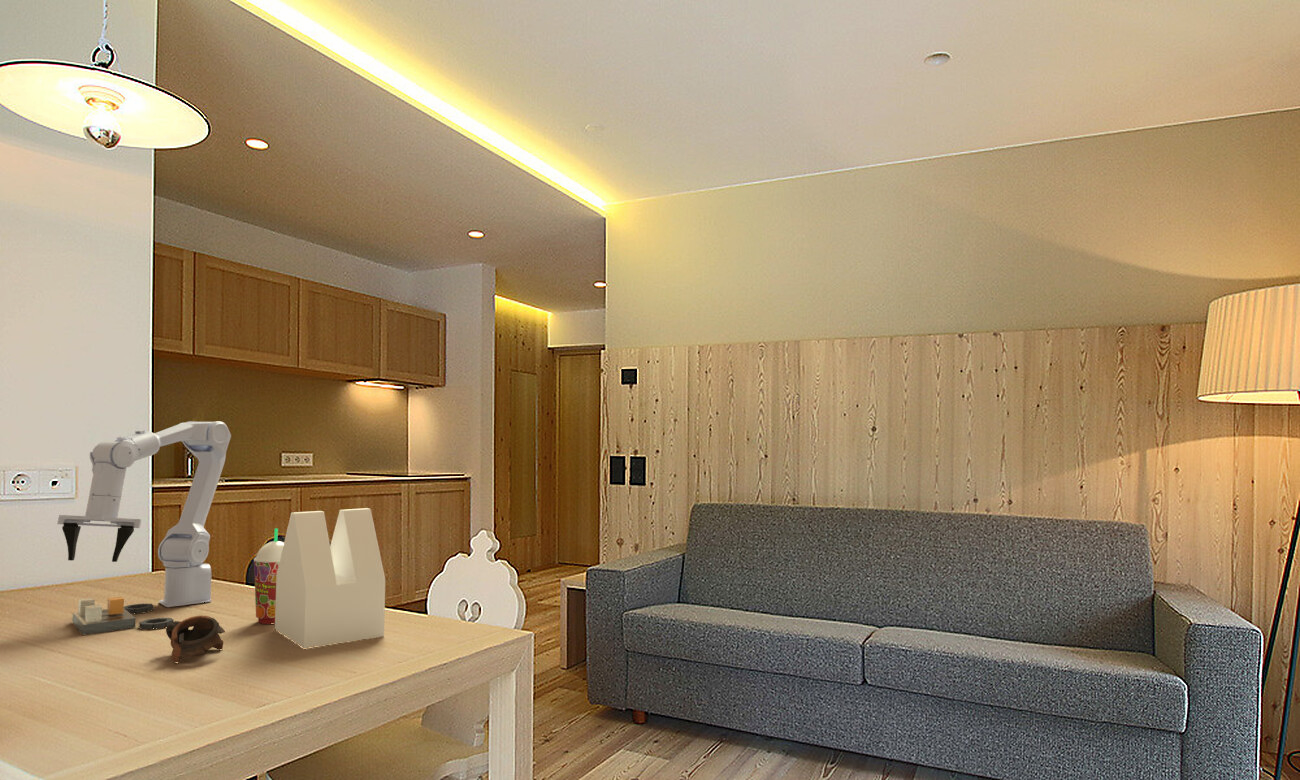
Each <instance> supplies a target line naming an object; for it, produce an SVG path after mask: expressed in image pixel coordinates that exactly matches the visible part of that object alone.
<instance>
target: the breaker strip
mask: <svg viewBox="0 0 1300 780" xmlns="http://www.w3.org/2000/svg"><path fill="white" fill-rule="evenodd" d="M77 605H78V609H77V612H73V613H72V622H73V623H72V625H74V627H75V626H76V627H77V628H78V629H77V628H76V629H77V630H78V632H81V633H82V634H81V633H80V634H81V635H82V636H85V635H84V634H87V635H92V634H91V633H94V634H100V633H99V632H101V633H106V631H108V632H113V631H112V630H115V631H121V630H120V629H123V630H127V628H130V629H135V628H136V622H137V620H136V619H137V617H135V616H134V614H130V613H129V612H128V611H127V610H126V609H123V613H120V614H112V615H109V614H108V613H107V608H104V609H103V606H102V605H101V604H100V603H99V604H95V599H94V598H93V597H88V598H86V597H85V598H79V599H78V604H77ZM134 627H135V628H134Z"/></svg>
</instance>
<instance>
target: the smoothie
mask: <svg viewBox="0 0 1300 780" xmlns="http://www.w3.org/2000/svg"><path fill="white" fill-rule="evenodd" d="M278 532H279V528H274V532H273V533H274V535H273V541H269V542H268V543H267V542H266V544H264V545H263V546H261V548H259V549H258V551H257V553H256V556H255V557H254V558H253V561H254V562H253V566H254V568H253V569H254V570H253V571H254V600H255V618H256V619H257V620H258V623H259V624H261V623H263V624H262V625H272V624H271V623H275V608H276V577H277V571H278V566H279V562H280V558H281V554H282V549H283V545H284V541H280V540H278V538H279V537H278V535H279V533H278Z"/></svg>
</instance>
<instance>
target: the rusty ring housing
mask: <svg viewBox="0 0 1300 780" xmlns="http://www.w3.org/2000/svg"><path fill="white" fill-rule="evenodd" d="M190 628H192V629H190ZM165 633H166V636H167V637H168V639H169V640H170V646H171V648H172V652H171V655H170V659H171V661H172V662H173V663H175V662H179V663H180V662H181V660H182V659H186V658H190V657H194V656H198V655H202V654H203V653H205V651H209V650H211V649H212V648H214V649H216V650H218V649H222V650H223V647H224V640H223V639H222V638H221V636H220V634H224V633H226V631H225V629H224V628H223V627H222V626H221V625H220V623H219V621H218V620H217V619H215V618H214V617H211V616H208V615H195V616H191V617H188V618H186V619H183V620H181V621H178V620H177V621H176V620H175V621H173V622H171V623H170V624H169V625H168V626H167V628H165Z"/></svg>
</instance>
